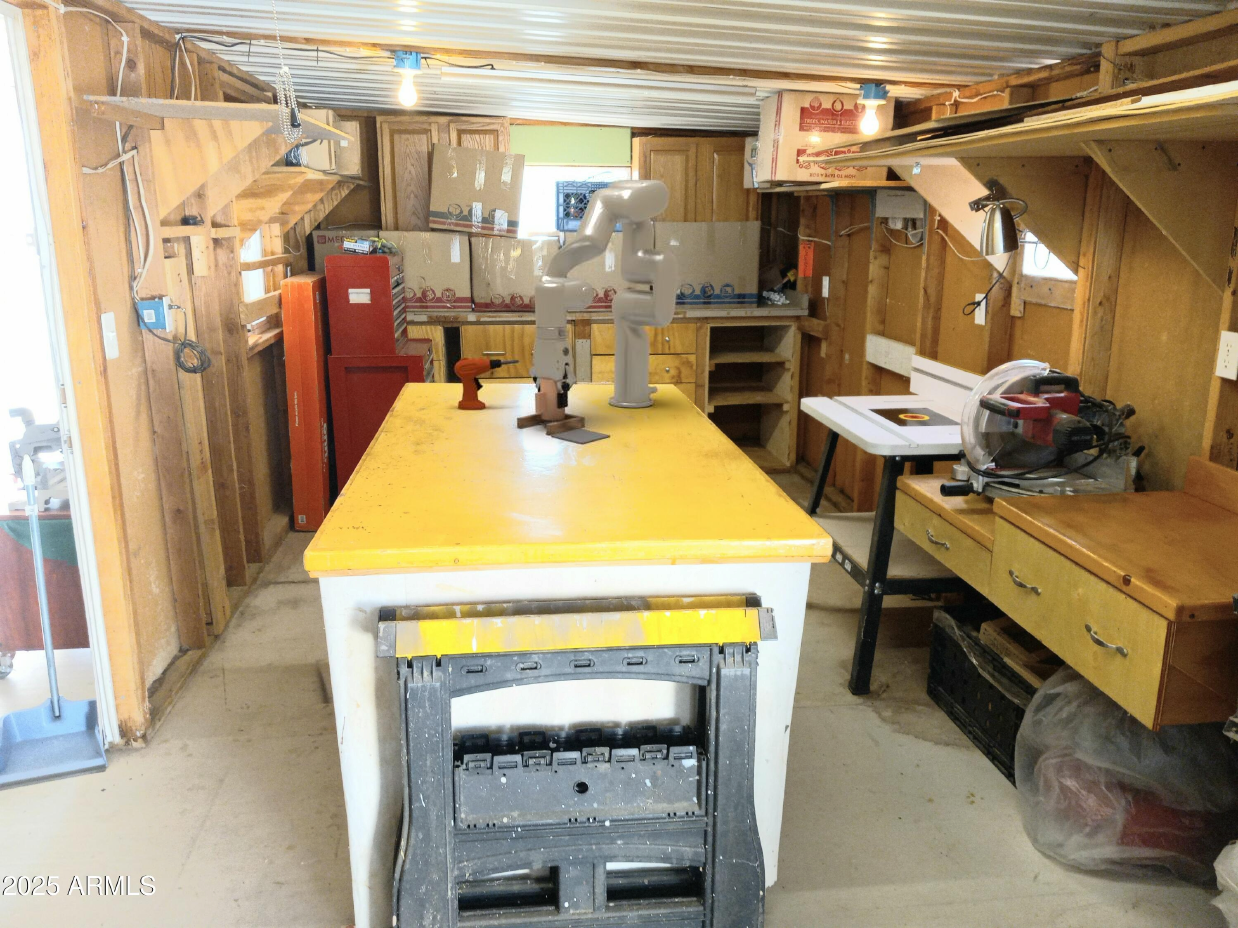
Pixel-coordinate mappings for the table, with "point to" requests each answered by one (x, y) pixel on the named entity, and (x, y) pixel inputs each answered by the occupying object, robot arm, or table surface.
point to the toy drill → (475, 379)
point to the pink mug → (548, 401)
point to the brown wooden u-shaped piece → (554, 428)
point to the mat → (580, 436)
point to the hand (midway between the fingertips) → (552, 405)
